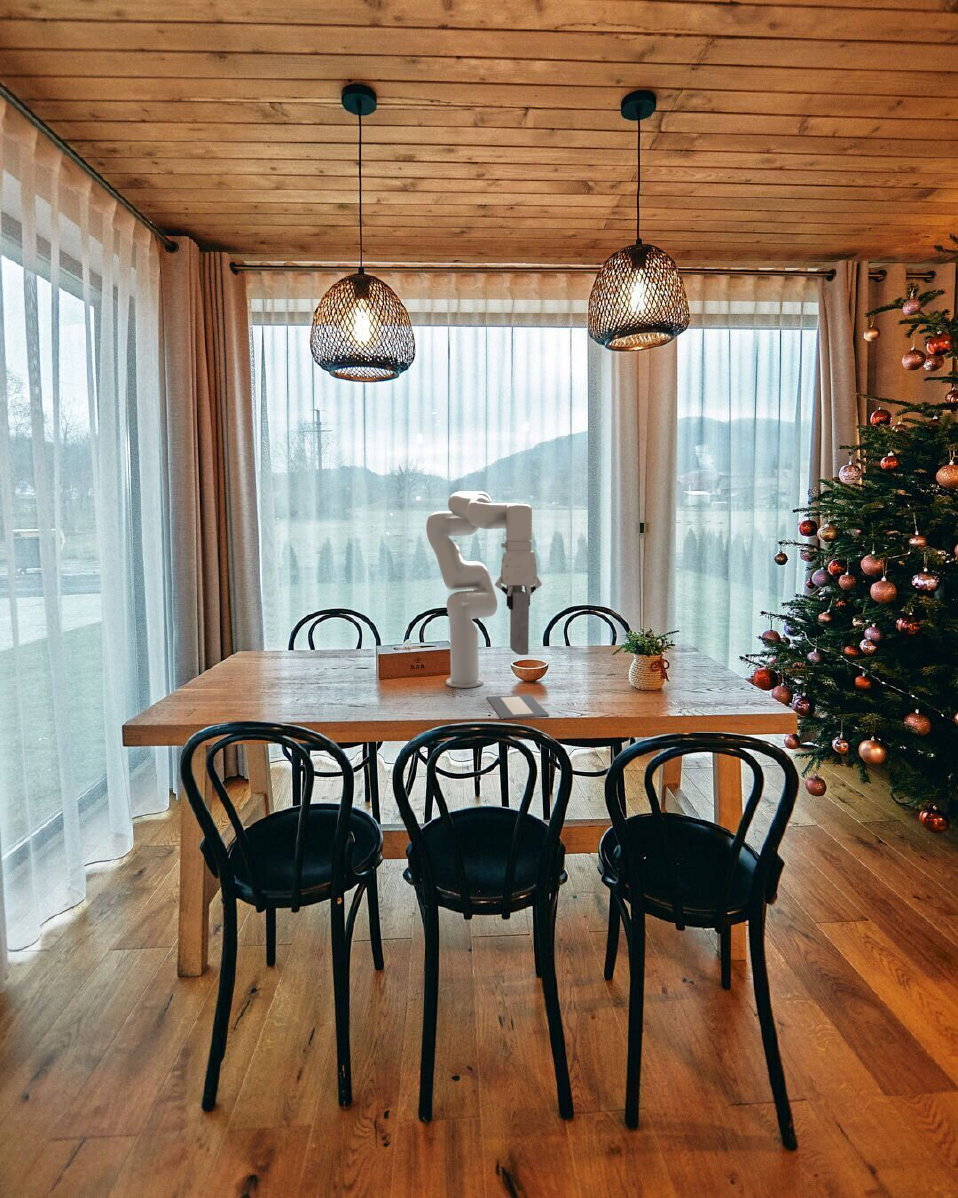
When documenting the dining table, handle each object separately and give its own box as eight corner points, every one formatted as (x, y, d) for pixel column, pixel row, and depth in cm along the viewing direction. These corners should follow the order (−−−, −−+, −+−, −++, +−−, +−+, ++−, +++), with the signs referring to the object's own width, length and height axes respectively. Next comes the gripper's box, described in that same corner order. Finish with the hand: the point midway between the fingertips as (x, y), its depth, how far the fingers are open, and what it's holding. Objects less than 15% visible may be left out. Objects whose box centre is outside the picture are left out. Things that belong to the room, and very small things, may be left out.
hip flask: (529, 654, 198) (530, 585, 195) (515, 655, 197) (515, 585, 194) (519, 643, 213) (520, 579, 210) (506, 643, 213) (507, 579, 210)
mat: (486, 698, 217) (486, 696, 217) (529, 695, 219) (529, 694, 219) (501, 719, 195) (501, 717, 195) (548, 716, 198) (548, 714, 198)
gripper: (493, 548, 196) (492, 611, 198) (550, 547, 199) (549, 610, 201) (488, 546, 203) (488, 607, 206) (543, 545, 206) (542, 606, 209)
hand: (518, 608), depth 203 cm, fingers closed on hip flask, 4 cm apart
